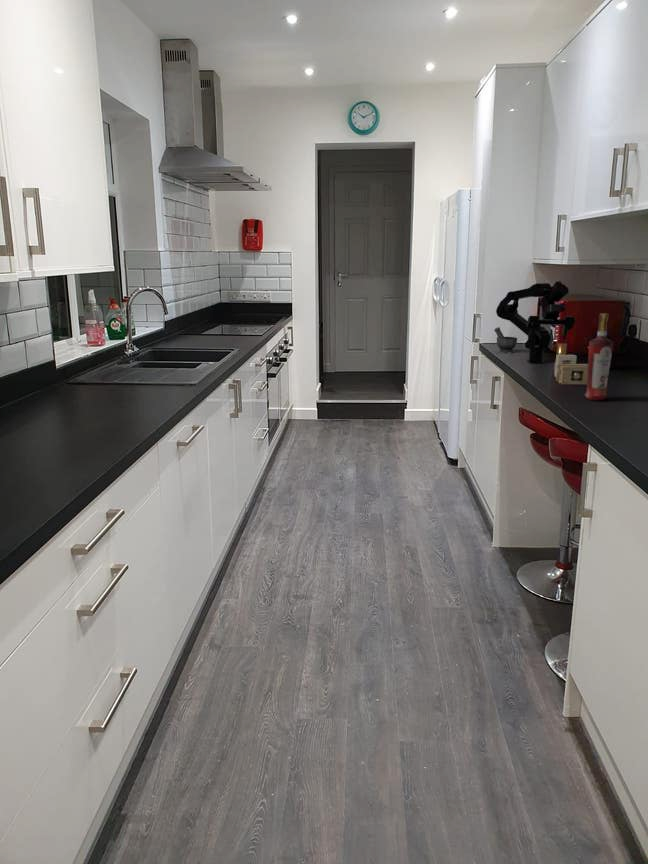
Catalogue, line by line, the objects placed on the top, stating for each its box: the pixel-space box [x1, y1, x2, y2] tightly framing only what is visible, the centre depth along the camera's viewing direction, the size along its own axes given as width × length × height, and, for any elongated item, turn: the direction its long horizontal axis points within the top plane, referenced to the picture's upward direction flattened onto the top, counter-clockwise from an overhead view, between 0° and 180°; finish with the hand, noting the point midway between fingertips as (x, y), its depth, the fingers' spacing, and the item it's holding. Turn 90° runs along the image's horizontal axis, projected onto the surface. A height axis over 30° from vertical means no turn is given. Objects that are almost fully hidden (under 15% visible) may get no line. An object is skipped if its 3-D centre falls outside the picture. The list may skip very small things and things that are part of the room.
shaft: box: [553, 342, 581, 379], centre depth 255 cm, size 23×6×12 cm, turn 177°
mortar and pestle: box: [494, 326, 518, 354], centre depth 322 cm, size 11×9×12 cm
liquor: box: [584, 312, 614, 402], centre depth 217 cm, size 7×7×28 cm
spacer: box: [554, 354, 578, 378], centre depth 259 cm, size 3×7×8 cm, turn 87°
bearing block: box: [555, 363, 588, 385], centre depth 248 cm, size 7×11×6 cm, turn 87°
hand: (553, 339), depth 274 cm, fingers open, 9 cm apart
